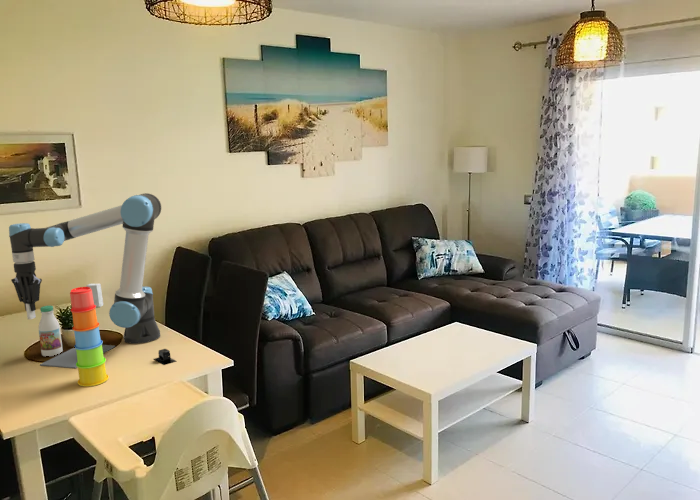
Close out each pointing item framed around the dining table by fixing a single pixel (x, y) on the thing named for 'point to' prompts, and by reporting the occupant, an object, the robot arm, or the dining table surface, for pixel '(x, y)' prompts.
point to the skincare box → (96, 294)
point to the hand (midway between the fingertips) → (31, 318)
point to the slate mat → (69, 358)
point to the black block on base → (164, 357)
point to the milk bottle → (49, 333)
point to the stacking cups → (87, 338)
